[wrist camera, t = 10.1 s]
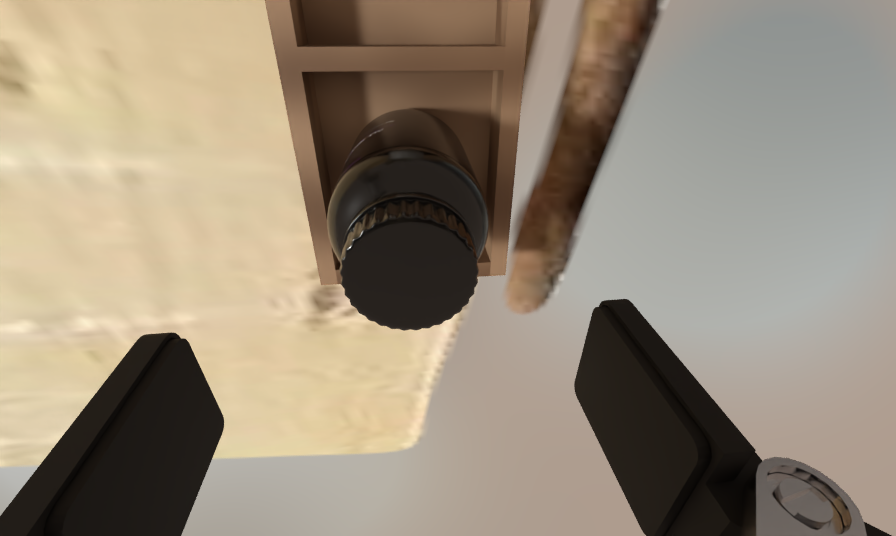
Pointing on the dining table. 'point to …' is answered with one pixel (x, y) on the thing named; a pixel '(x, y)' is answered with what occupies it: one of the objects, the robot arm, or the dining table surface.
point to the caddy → (402, 92)
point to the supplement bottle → (408, 222)
